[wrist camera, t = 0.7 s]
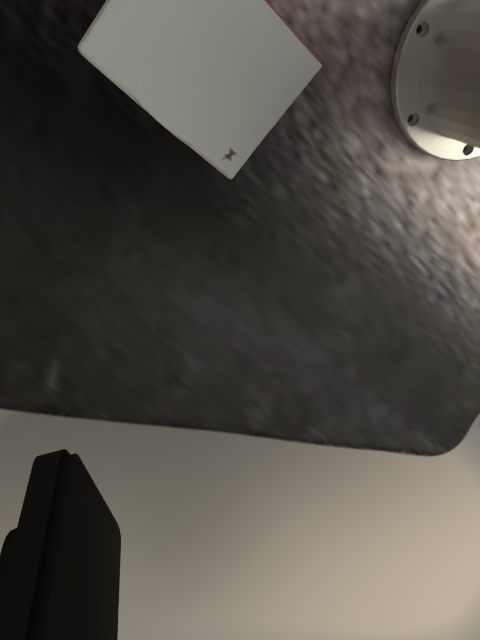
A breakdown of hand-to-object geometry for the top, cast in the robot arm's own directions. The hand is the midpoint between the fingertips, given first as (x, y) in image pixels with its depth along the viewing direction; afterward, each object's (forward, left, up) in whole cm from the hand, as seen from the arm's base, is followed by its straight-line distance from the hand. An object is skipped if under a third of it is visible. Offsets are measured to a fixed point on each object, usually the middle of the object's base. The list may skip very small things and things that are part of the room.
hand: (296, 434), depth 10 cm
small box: (-4, -5, -27) cm, 28 cm away
